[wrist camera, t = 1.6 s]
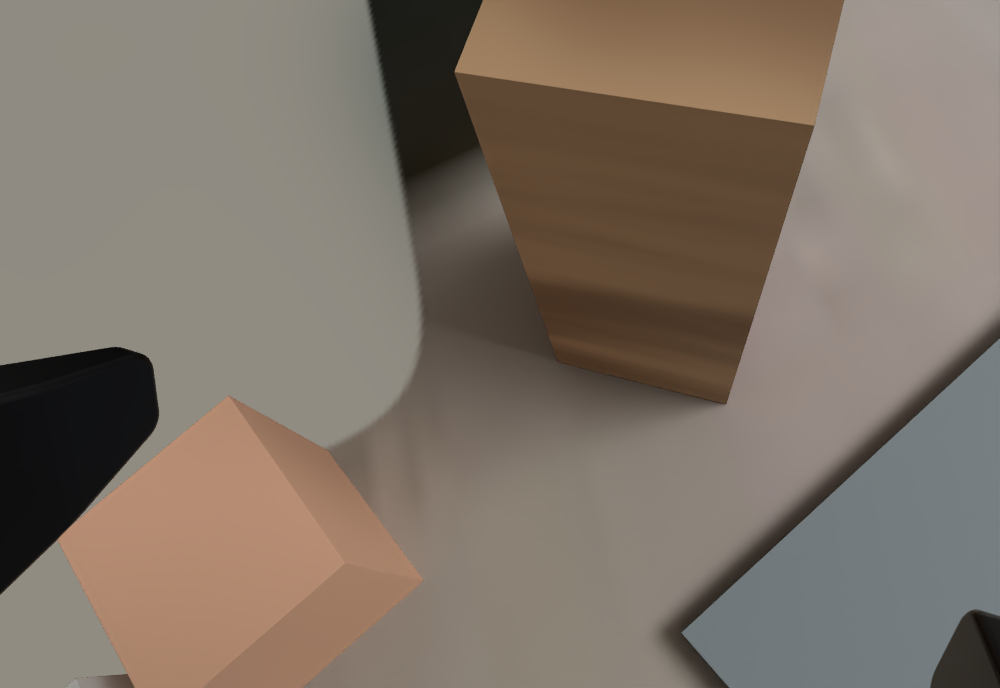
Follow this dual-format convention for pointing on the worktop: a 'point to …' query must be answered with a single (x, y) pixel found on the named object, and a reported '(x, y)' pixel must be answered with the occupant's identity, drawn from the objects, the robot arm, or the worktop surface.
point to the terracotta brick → (235, 559)
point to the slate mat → (876, 560)
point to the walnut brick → (647, 167)
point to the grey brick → (102, 682)
